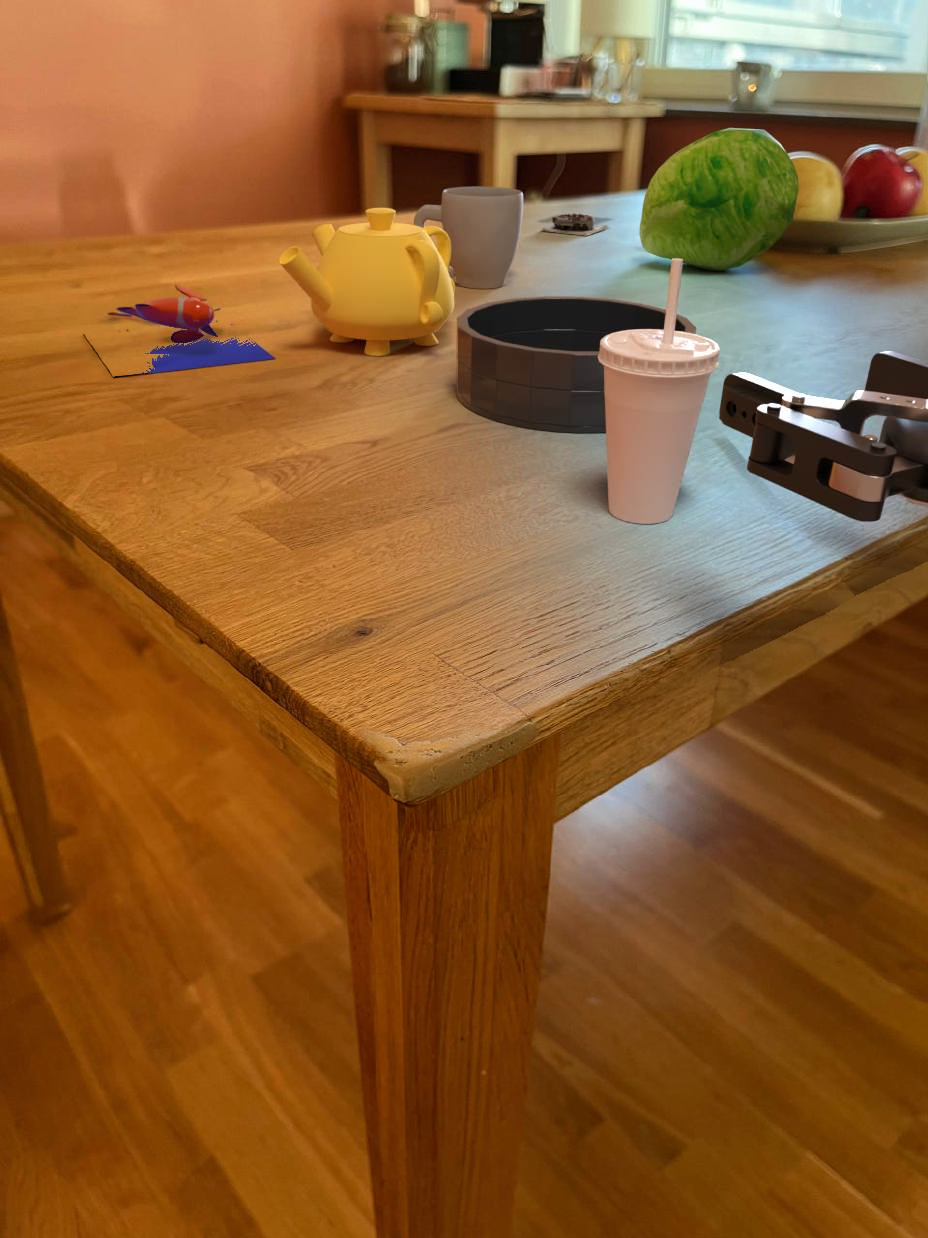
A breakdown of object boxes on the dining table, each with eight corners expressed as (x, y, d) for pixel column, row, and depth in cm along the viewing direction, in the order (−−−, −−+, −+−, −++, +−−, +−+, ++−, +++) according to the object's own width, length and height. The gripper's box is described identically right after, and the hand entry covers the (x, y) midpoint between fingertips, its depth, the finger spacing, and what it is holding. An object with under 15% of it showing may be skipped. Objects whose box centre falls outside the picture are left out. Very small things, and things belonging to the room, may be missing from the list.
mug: (521, 276, 114) (524, 187, 110) (518, 293, 107) (522, 197, 102) (418, 273, 115) (417, 184, 110) (409, 289, 108) (407, 194, 103)
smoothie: (640, 544, 53) (671, 274, 46) (562, 504, 58) (580, 253, 51) (720, 516, 56) (760, 261, 49) (640, 481, 61) (667, 242, 54)
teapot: (320, 318, 96) (312, 194, 90) (459, 323, 95) (461, 198, 89) (284, 360, 83) (272, 219, 78) (444, 366, 82) (444, 224, 77)
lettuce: (705, 245, 133) (634, 145, 125) (843, 180, 118) (771, 62, 110) (665, 330, 126) (586, 230, 118) (805, 274, 110) (725, 154, 103)
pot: (658, 362, 84) (665, 296, 81) (712, 432, 69) (724, 354, 66) (452, 362, 83) (453, 295, 80) (461, 433, 68) (462, 354, 65)
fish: (234, 291, 81) (127, 300, 77) (239, 349, 83) (136, 361, 80) (195, 264, 91) (98, 271, 87) (201, 316, 93) (107, 325, 90)
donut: (562, 223, 150) (563, 208, 148) (610, 228, 146) (611, 213, 145) (538, 230, 143) (538, 215, 142) (586, 235, 140) (588, 220, 139)
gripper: (1343, 378, 32) (936, 284, 45) (1059, 439, 26) (684, 312, 39) (1248, 581, 36) (897, 442, 48) (981, 673, 30) (662, 488, 43)
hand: (803, 384), depth 44 cm, fingers open, 8 cm apart
